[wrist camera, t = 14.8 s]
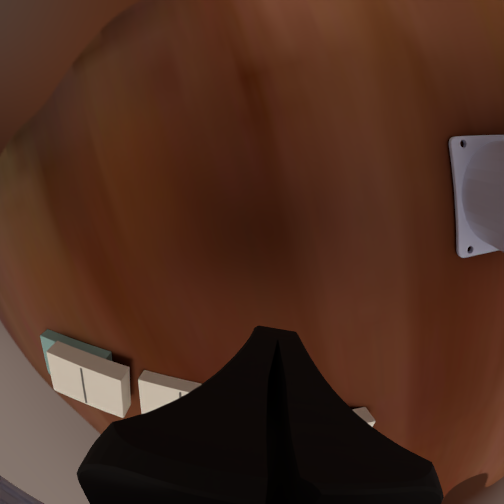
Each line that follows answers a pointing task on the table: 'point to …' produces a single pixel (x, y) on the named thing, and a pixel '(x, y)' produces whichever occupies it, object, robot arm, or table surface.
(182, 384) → the tile
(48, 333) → the tile
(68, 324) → the table surface
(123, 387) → the tile
